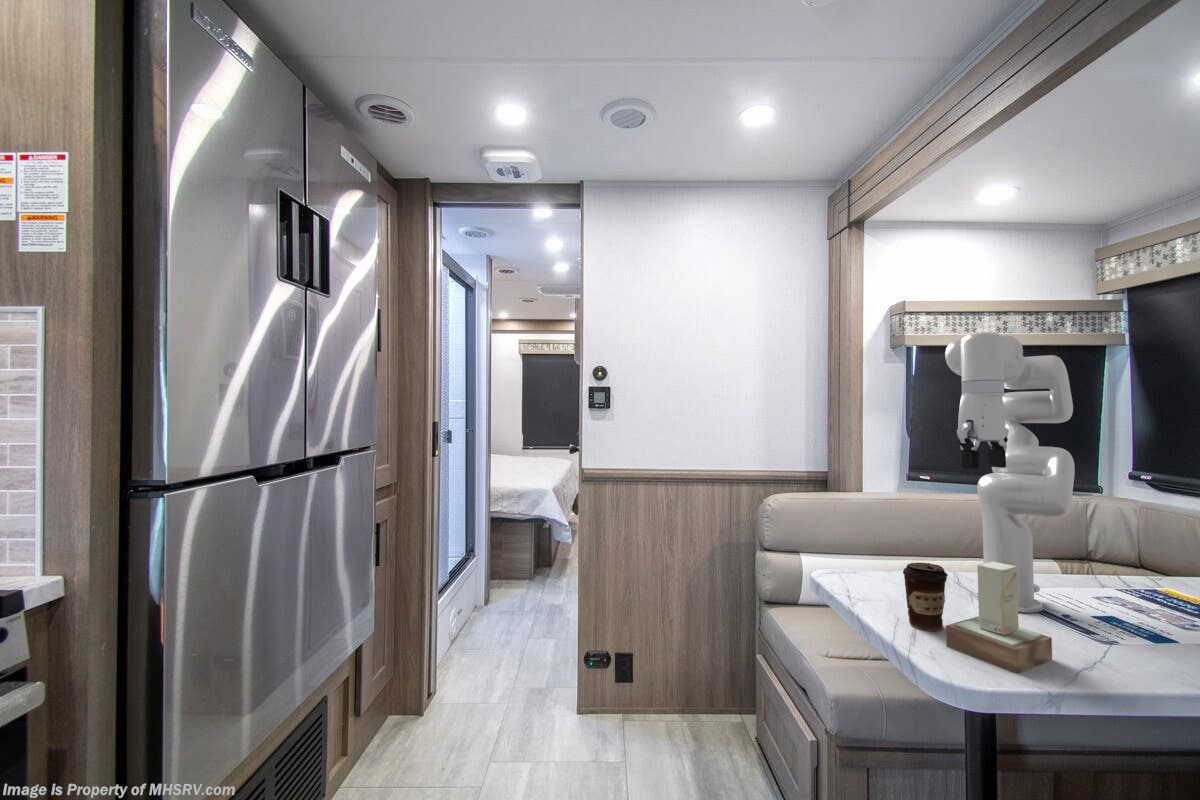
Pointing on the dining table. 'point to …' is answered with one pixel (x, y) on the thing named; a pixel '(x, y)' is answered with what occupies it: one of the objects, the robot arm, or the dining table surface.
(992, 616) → the skincare box
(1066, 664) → the dining table surface
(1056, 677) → the dining table surface
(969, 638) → the walnut plinth
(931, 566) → the coffee cup
